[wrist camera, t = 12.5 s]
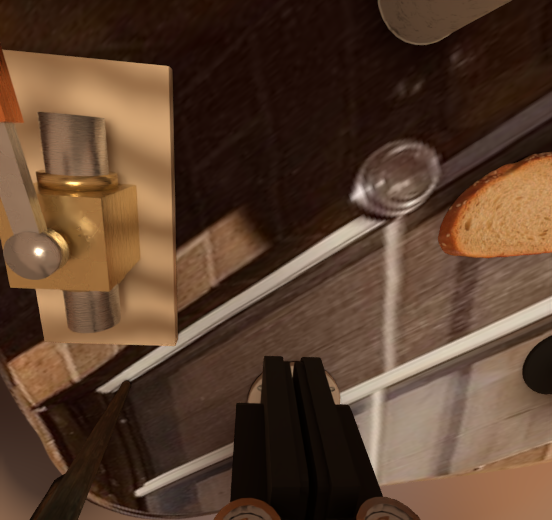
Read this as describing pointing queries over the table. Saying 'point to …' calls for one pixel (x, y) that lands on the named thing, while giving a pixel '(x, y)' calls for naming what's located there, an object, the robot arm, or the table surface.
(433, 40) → the grey stone cylinder
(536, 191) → the bread slice
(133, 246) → the valve body
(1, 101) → the valve lever
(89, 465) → the decorative torch
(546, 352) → the wine glass
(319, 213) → the table surface
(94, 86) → the mounting board
